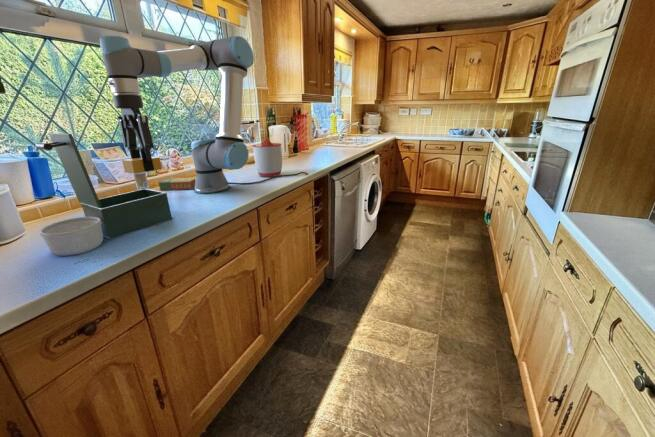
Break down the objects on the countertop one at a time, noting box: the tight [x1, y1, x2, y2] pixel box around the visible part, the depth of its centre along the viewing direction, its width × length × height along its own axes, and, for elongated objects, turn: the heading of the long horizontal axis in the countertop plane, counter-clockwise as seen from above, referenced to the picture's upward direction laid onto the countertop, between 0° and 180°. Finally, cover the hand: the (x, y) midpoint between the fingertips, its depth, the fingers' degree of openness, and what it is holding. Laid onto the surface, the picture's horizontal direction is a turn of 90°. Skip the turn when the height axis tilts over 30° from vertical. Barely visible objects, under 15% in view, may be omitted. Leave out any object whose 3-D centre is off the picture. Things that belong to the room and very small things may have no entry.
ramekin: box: [39, 216, 104, 257], centre depth 83 cm, size 13×13×7 cm
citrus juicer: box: [252, 138, 283, 178], centre depth 167 cm, size 16×17×20 cm
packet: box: [121, 156, 163, 175], centre depth 99 cm, size 9×6×4 cm, turn 148°
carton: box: [158, 176, 196, 191], centre depth 148 cm, size 8×16×4 cm, turn 88°
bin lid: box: [35, 132, 101, 208], centre depth 83 cm, size 21×13×6 cm
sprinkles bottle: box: [132, 172, 150, 191], centre depth 127 cm, size 5×5×14 cm
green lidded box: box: [80, 188, 173, 240], centre depth 99 cm, size 20×13×10 cm
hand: (144, 169), depth 100 cm, fingers closed on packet, 6 cm apart
